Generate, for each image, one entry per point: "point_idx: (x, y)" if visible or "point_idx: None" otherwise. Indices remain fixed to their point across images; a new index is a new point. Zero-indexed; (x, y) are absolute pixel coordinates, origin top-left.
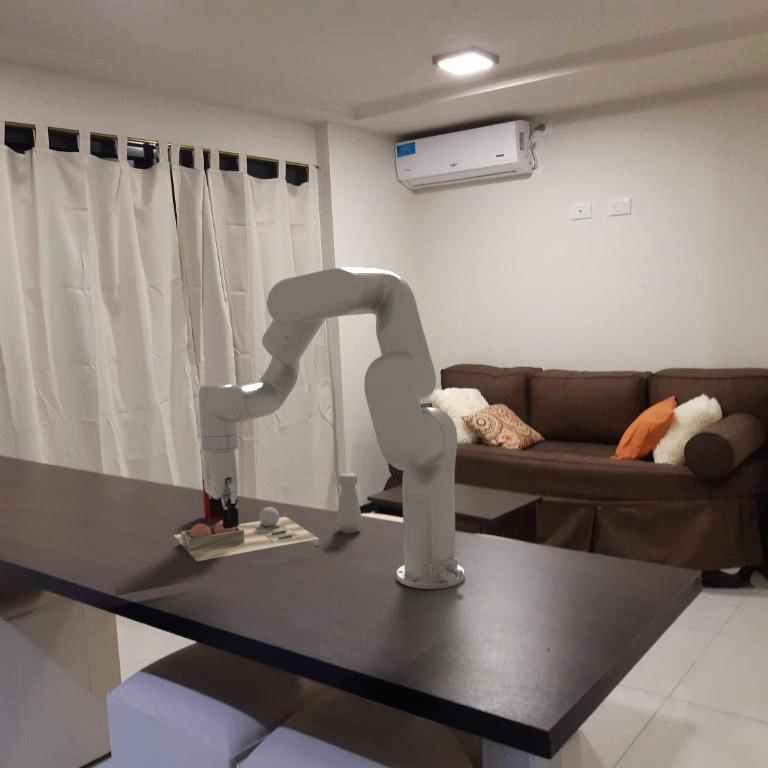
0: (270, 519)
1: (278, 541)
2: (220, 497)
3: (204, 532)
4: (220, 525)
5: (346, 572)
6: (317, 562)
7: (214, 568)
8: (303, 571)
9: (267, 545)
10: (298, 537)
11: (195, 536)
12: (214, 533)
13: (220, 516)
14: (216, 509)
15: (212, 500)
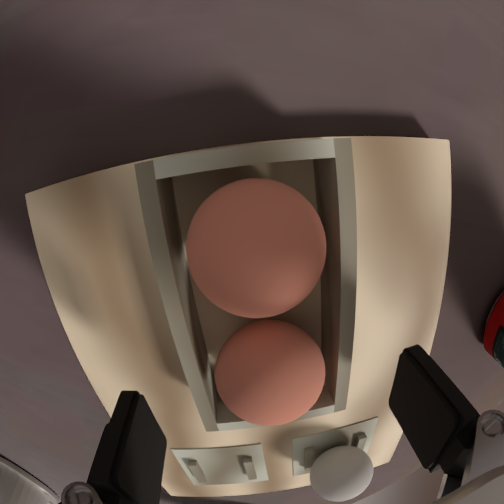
0: (311, 478)
1: (174, 455)
2: (440, 465)
3: (195, 278)
4: (242, 381)
5: (25, 448)
6: (66, 449)
7: (32, 250)
8: (20, 415)
9: None
10: (192, 482)
11: (197, 212)
12: (327, 316)
13: (498, 330)
14: (414, 400)
15: (451, 429)
